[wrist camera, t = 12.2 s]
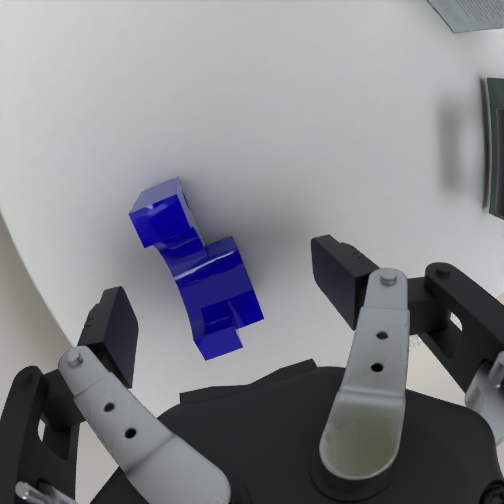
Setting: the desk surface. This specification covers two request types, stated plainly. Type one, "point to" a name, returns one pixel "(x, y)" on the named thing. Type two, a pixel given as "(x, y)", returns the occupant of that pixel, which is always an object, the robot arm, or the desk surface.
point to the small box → (471, 14)
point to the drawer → (497, 145)
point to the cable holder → (198, 269)
